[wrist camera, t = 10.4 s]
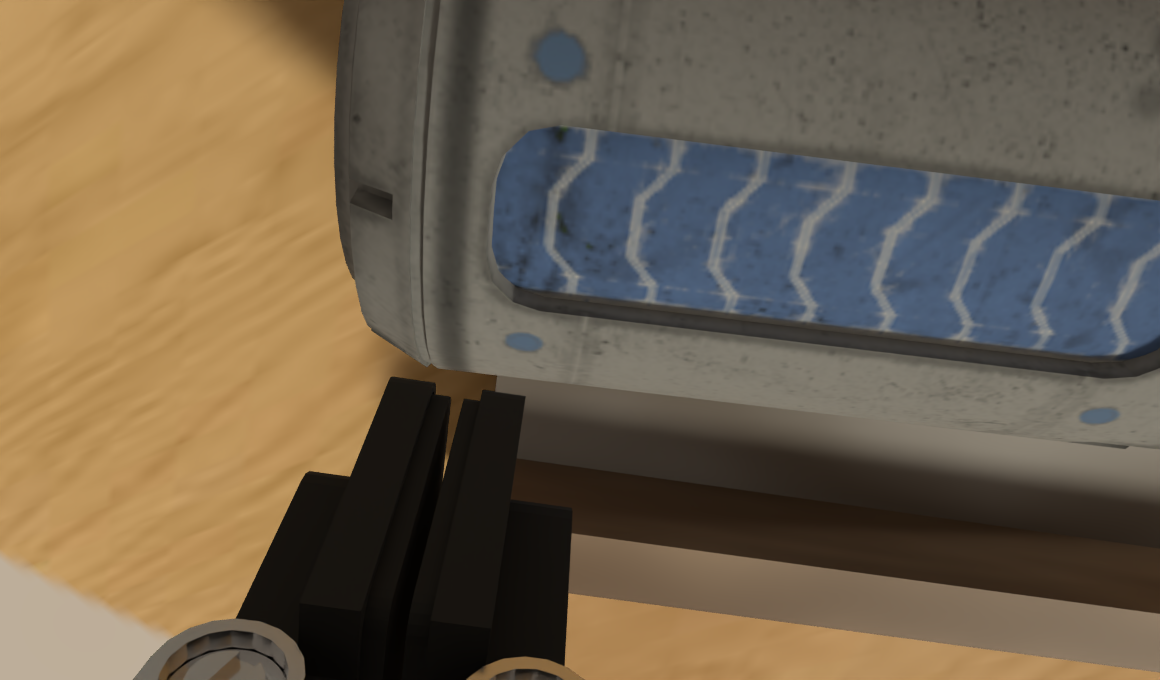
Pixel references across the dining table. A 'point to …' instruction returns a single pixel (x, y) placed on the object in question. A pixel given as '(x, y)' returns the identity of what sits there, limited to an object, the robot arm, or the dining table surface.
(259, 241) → the dining table surface
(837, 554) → the u rest
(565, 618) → the robot arm
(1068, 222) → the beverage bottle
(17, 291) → the dining table surface
